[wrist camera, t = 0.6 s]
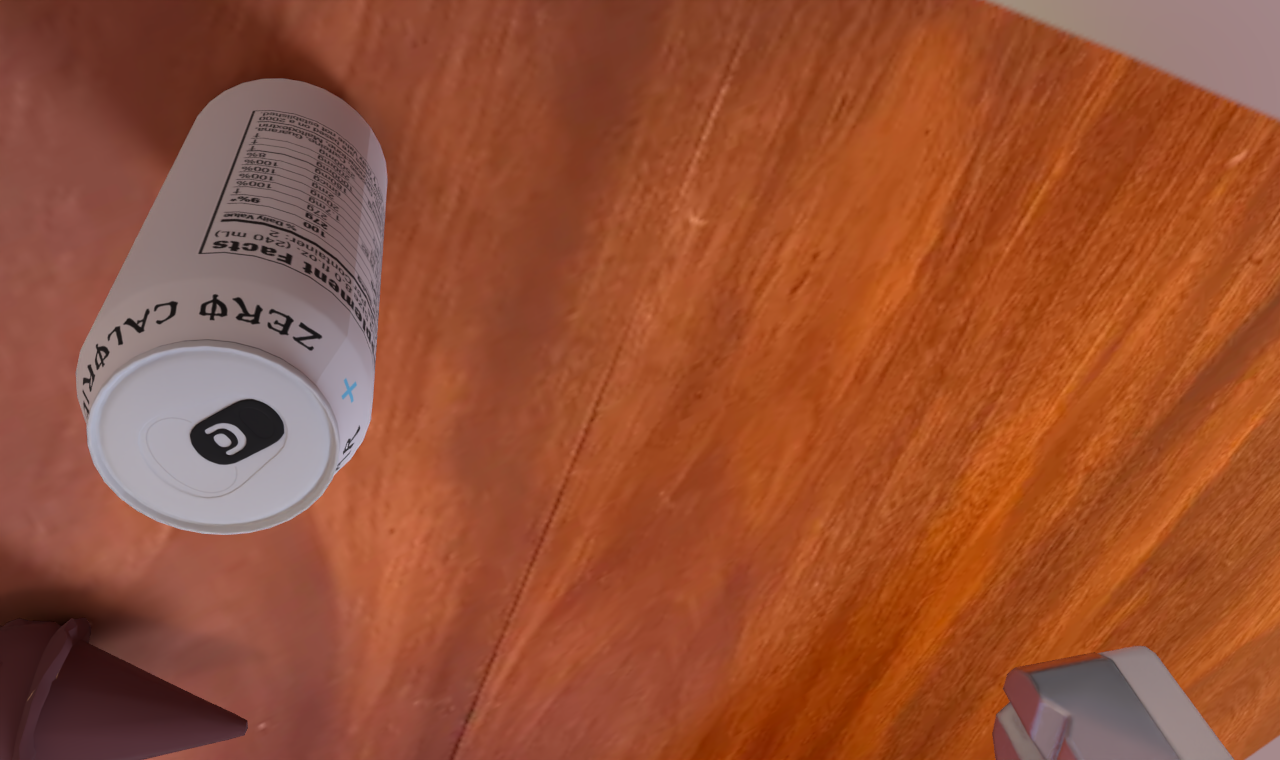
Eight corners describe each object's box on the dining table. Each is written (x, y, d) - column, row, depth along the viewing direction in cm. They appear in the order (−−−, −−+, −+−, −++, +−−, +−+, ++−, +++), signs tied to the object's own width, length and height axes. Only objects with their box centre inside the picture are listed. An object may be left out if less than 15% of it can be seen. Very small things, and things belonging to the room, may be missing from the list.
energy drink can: (147, 127, 32) (-21, 411, 20) (313, 31, 31) (245, 264, 19) (271, 276, 35) (192, 595, 23) (424, 192, 35) (425, 477, 23)
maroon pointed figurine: (241, 703, 38) (-234, 652, 34) (216, 868, 40) (-234, 835, 36) (275, 603, 44) (-122, 552, 41) (252, 749, 46) (-128, 712, 43)
